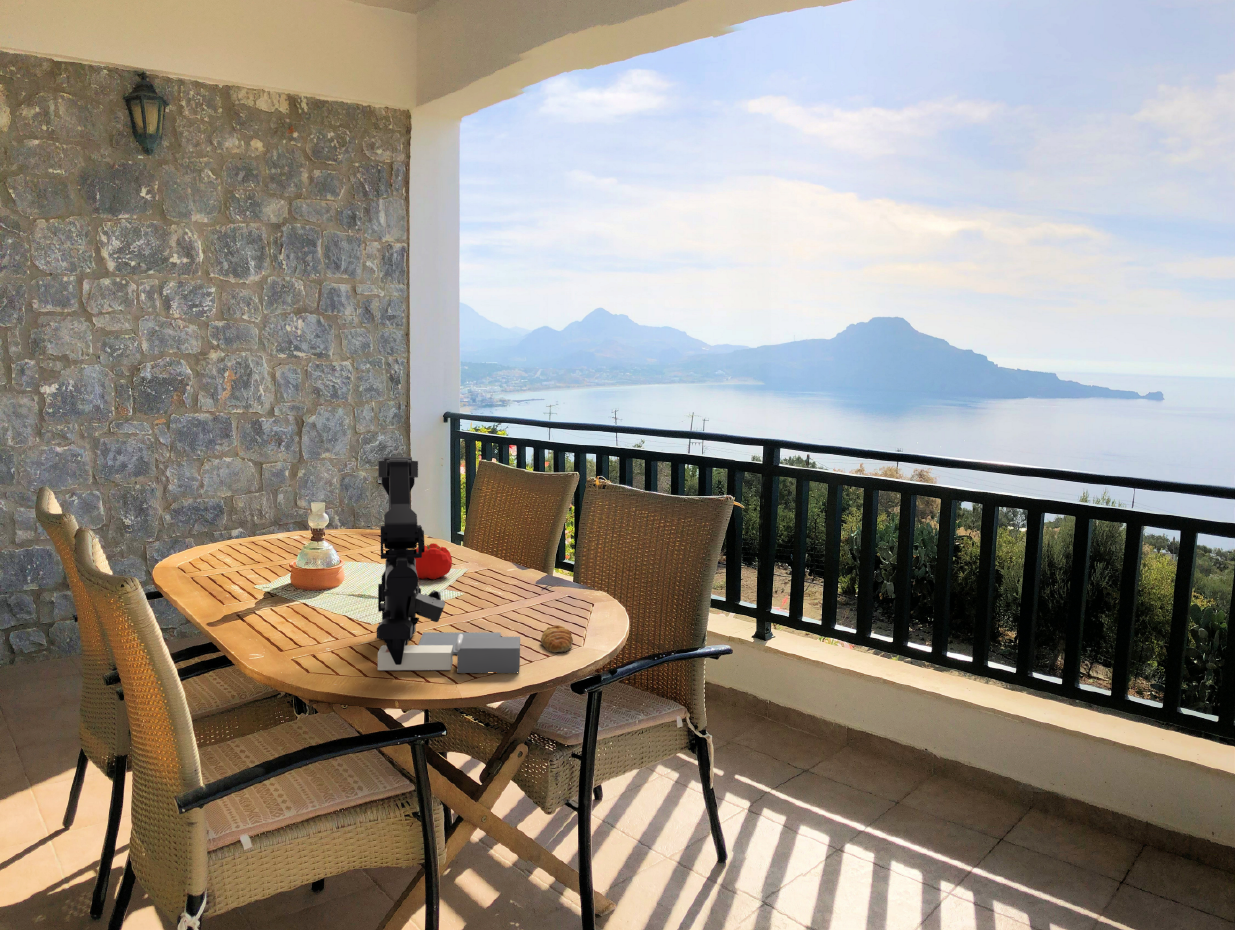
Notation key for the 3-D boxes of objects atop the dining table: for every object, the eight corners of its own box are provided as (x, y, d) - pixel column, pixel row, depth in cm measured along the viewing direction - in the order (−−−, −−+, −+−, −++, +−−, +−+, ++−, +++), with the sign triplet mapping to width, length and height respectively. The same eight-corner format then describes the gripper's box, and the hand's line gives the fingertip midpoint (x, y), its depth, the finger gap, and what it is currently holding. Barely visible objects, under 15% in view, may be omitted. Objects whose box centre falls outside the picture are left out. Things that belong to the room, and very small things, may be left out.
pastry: (576, 654, 181) (576, 636, 181) (544, 655, 180) (544, 638, 179) (569, 640, 190) (570, 623, 190) (539, 641, 189) (539, 624, 188)
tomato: (444, 583, 235) (444, 550, 234) (402, 580, 237) (403, 547, 236) (457, 574, 245) (458, 543, 244) (417, 571, 247) (417, 540, 246)
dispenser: (454, 673, 167) (454, 646, 166) (458, 660, 174) (458, 633, 173) (519, 673, 168) (519, 646, 167) (519, 660, 175) (520, 633, 175)
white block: (377, 670, 167) (377, 652, 166) (381, 662, 171) (381, 644, 171) (450, 669, 168) (450, 652, 168) (452, 662, 173) (453, 644, 172)
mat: (415, 654, 177) (415, 651, 177) (423, 634, 190) (423, 632, 190) (498, 654, 179) (498, 651, 178) (500, 635, 191) (500, 632, 191)
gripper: (437, 595, 159) (436, 677, 161) (446, 571, 177) (446, 644, 179) (376, 595, 158) (376, 677, 160) (391, 571, 176) (391, 644, 178)
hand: (400, 660), depth 169 cm, fingers closed on white block, 4 cm apart
